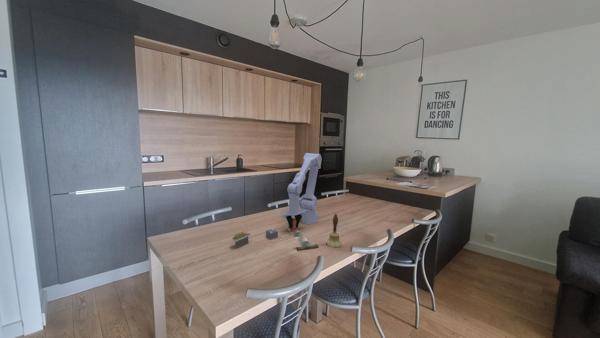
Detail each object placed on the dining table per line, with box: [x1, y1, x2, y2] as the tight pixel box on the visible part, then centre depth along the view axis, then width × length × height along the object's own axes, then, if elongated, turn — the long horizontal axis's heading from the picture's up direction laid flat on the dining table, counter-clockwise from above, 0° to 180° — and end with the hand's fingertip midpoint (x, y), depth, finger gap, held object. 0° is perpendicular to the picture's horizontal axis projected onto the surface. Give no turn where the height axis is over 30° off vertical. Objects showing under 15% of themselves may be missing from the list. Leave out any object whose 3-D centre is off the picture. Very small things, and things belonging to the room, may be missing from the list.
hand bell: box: [325, 213, 343, 248], centre depth 126 cm, size 8×8×16 cm
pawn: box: [289, 218, 298, 233], centre depth 139 cm, size 4×4×7 cm
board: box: [287, 228, 319, 252], centre depth 131 cm, size 11×25×1 cm, turn 21°
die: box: [265, 228, 279, 241], centre depth 130 cm, size 4×4×5 cm
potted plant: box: [231, 230, 252, 249], centre depth 122 cm, size 12×18×7 cm, turn 142°
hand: (293, 227), depth 139 cm, fingers closed on pawn, 3 cm apart
